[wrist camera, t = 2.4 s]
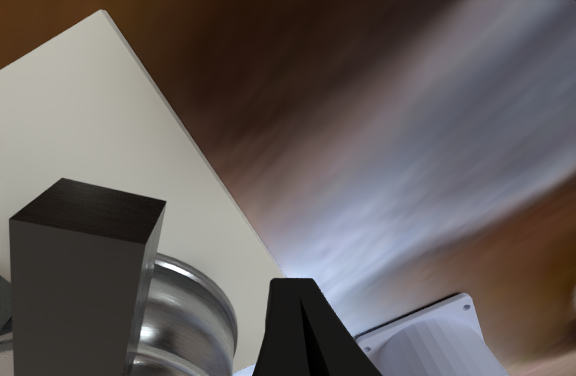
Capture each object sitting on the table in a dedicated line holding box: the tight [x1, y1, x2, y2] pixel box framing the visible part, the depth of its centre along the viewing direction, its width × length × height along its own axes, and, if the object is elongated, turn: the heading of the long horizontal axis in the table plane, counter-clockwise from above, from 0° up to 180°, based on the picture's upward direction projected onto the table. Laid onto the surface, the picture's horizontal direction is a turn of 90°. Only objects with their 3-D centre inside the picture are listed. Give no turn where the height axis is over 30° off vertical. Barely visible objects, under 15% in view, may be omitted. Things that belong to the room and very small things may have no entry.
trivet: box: [0, 10, 286, 373], centre depth 17 cm, size 20×17×1 cm
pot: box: [0, 253, 238, 376], centre depth 15 cm, size 22×12×5 cm, turn 26°
